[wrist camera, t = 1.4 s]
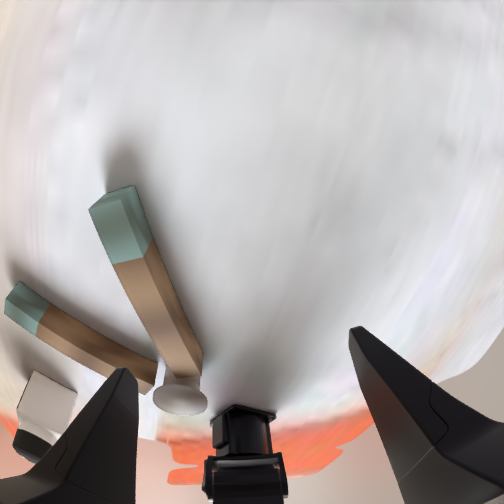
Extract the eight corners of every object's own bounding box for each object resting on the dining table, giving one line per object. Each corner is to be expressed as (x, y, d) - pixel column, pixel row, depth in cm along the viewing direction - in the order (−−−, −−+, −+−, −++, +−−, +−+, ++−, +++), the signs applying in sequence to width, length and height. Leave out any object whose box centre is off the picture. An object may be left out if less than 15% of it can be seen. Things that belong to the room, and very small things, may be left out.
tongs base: (218, 368, 28) (217, 401, 24) (190, 391, 30) (188, 421, 26) (24, 258, 20) (1, 283, 16) (16, 296, 22) (-2, 321, 18)
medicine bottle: (33, 368, 28) (4, 441, 17) (78, 393, 30) (57, 469, 20) (33, 389, 30) (10, 452, 20) (73, 410, 33) (56, 476, 22)
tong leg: (202, 352, 26) (201, 375, 24) (179, 355, 26) (176, 378, 24) (134, 184, 18) (120, 198, 16) (104, 194, 18) (88, 209, 16)
